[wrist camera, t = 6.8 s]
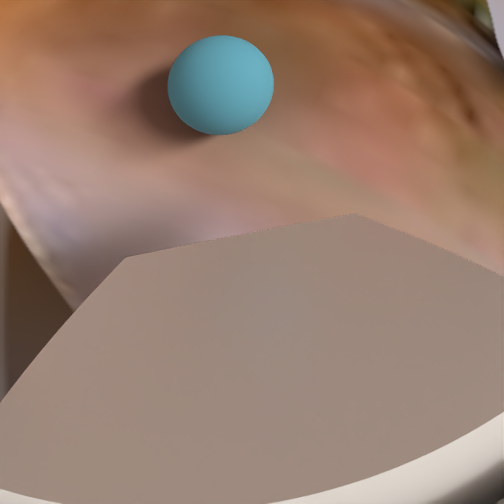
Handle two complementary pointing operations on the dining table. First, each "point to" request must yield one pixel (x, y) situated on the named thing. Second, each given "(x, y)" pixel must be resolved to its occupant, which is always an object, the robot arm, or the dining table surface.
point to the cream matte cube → (270, 377)
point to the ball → (220, 85)
